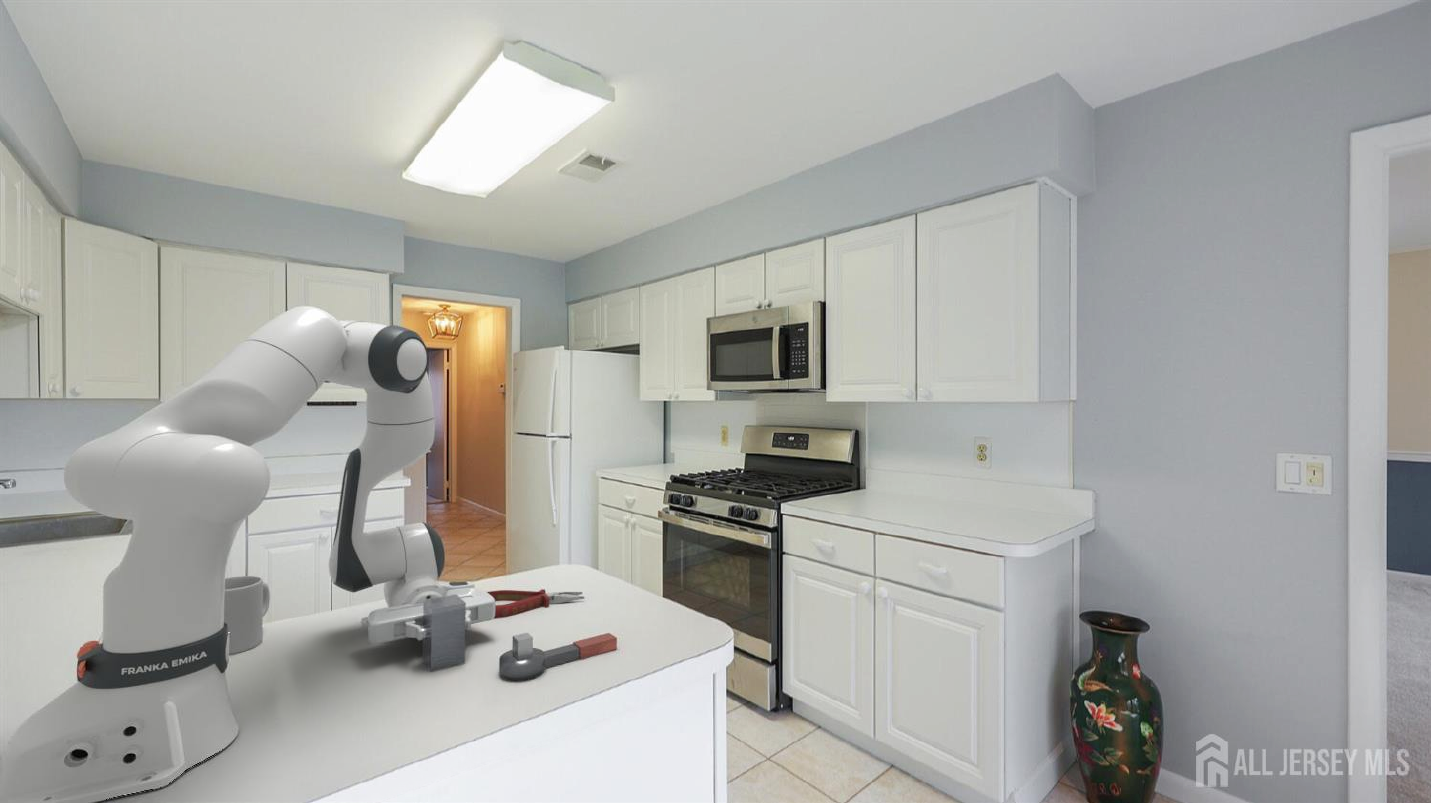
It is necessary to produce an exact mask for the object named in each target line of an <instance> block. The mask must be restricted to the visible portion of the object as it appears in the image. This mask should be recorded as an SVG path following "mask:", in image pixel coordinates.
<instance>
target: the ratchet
mask: <svg viewBox="0 0 1431 803" xmlns="http://www.w3.org/2000/svg"><path fill="white" fill-rule="evenodd" d="M533 645H534V637H533V636H532V635H531V634H530V633H529V632H524V633H519V634H516V635H515V634H514V635H512V645H511V646H512V647H511V648H512V649H511V650H508V651H506V652H504V653H502V654H501V655H500V657H499V659H498V660H499V662H498V666H499V667H498V668H499V669H498V675H499V677H500V678H501V679H502V680H504V681H507V682H525V681H530V680H534V679H537V678H538V677H540V676H542V675H543V674H544V673H545V670H546V669H548V668H551V667H555V666H559V665H562V664H563V665H564V664H566V663H570V662H574V661H577V660H582V659H583V660H584V659H586V658H591V657H594V656H597V655H602V654H604V653H607V652H611V651H615V650H617V648H618V637H616V636H615V635H613V634H611V632H607V633H603V634H599V635H596V636H592V637H588V638H583V639H579V640H576V641H573V642H572V644H568V645H564V646H559V647H556V648H551V649H548V650H545V651H544V650H542V649H541V648H537V647H536V648H535V647H534V646H533Z"/></svg>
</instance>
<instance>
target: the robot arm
mask: <svg viewBox="0 0 1431 803" xmlns="http://www.w3.org/2000/svg"><path fill="white" fill-rule="evenodd" d="M429 356H430V355H429V351H428V348H427V346H426V344H425V342H424V340H423V338H422V337H421V335H419V333H417V332H415V331H414V330H412V329H409V328H407V327H403V326H400V325H385V324H381V323H376V322H370V321H366V320H365V321H364V320H338V319H337V318H336V317H334V316H333V315H332V314H331V313H330V312H327V311H325V310H323V309H321V308H318V307H315V306H309V305H301V306H296V307H292V308H290V309H288V310H287V311H284V312H282V313H281V314H279V315H278V316H276V317H274V318H272V319H271V320H269V321H268V322H266V323H265V324H263V325H262V326H260V327H259V328H258V329H256V330H255V331H254V332H253V333H251V334H250V335H249V336H247V337H246V338H245V339H244V340H243V341H242V342H241V343H239V344H238V345H237V346H236V347H235V348H234V349H233V350H231V352H229V353H228V354H227V355H226V356H225V357H224V358H223V359H221V360H220V361H219V362H218V363H217V364H215V365H214V366H213V367H212V368H211V369H210V370H209V371H208V372H206V373H205V374H204V375H202V376H201V377H200V378H199V379H197V381H195V382H194V383H192V384H190V385H189V386H188V387H186V388H185V389H183V390H182V391H180V392H179V393H176V394H175V395H174V396H172V397H170V398H168V399H167V400H165V401H163V402H162V403H160V404H159V405H156V406H155V407H153V408H152V409H150V410H148V411H147V412H145V413H144V414H142V415H140V416H138V417H136V418H135V419H134V420H132V421H130V422H129V423H127V424H126V425H124V426H122V427H120V428H118V429H116V430H114V431H112V432H110V433H108V434H105V435H103V436H101V437H97V438H95V439H93V440H91V441H88V442H86V443H85V444H83V445H82V446H80V447H78V449H76V450H75V452H73V454H71V456H70V458H69V459H68V461H67V463H66V465H65V468H64V473H63V481H64V485H65V488H66V490H67V492H68V493H69V495H70V496H71V497H72V498H73V500H75V501H77V502H78V503H79V504H81V505H83V506H84V507H85V508H88V509H89V510H92V511H94V512H96V513H98V514H99V515H102V516H106V517H108V518H112V519H121V520H128V521H132V532H131V536H130V538H129V542H128V545H127V548H126V551H125V554H124V556H123V558H122V560H121V562H120V563H119V565H118V566H116V567H115V568H113V570H112V571H111V572H109V574H108V575H107V577H106V578H105V580H104V582H103V586H102V588H103V589H102V590H103V591H102V592H103V594H102V595H103V596H102V597H103V598H102V599H103V600H102V602H103V603H102V606H103V607H102V609H103V610H102V643H100V641H98V640H89V641H87V642H85V643H83V644H82V646H80V648H79V650H78V651H77V653H76V658H77V665H76V680H77V681H76V683H75V684H73V685H72V686H70V687H69V688H68V689H66V690H65V691H64V692H62V693H60V695H58V696H57V697H55V698H54V699H52V700H51V701H50V702H49V703H47V704H46V705H44V706H43V707H41V708H39V710H37V711H35V712H34V713H33V714H32V715H30V716H29V717H28V718H27V719H25V720H24V722H23V723H22V724H21V725H20V726H19V727H18V728H17V730H16V731H15V732H14V733H13V735H12V737H11V738H10V740H9V741H8V744H7V746H6V747H5V750H4V752H3V753H4V754H3V755H2V759H1V763H0V803H98V802H103V801H106V799H107V800H111V798H112V799H114V798H113V797H116V798H118V797H117V796H120V795H124V794H129V793H133V792H138V791H139V793H141V792H140V791H144V790H149V789H153V790H156V789H160V787H161V788H164V787H166V786H168V785H170V784H171V783H173V782H174V781H175V780H174V779H176V778H177V777H178V776H179V777H181V776H182V775H183V774H184V773H185V772H184V771H185V770H186V769H187V768H190V767H191V766H193V765H195V764H197V763H199V762H201V761H202V760H204V759H206V758H208V757H210V756H212V755H214V754H215V753H217V752H218V753H220V752H221V751H223V750H224V749H226V748H227V747H228V746H229V745H230V744H231V743H233V741H234V740H235V739H236V737H237V736H238V734H239V729H240V728H239V725H238V723H237V721H236V718H235V714H234V713H233V709H232V705H231V701H230V695H229V691H228V690H229V689H228V683H227V682H228V681H227V676H226V674H227V673H226V670H227V668H228V664H229V662H230V661H229V660H230V655H229V633H228V626H227V624H226V623H225V622H224V595H225V578H226V574H227V566H228V560H229V557H230V553H231V549H232V546H233V543H234V541H235V539H236V536H237V534H238V532H239V529H240V528H241V526H242V523H244V521H245V519H247V518H248V517H249V516H250V515H252V514H253V513H254V512H255V511H256V510H257V509H259V507H260V506H261V505H262V503H263V502H264V500H265V498H266V497H267V494H268V491H269V489H270V485H271V472H270V468H269V465H268V463H267V461H266V458H264V456H263V455H262V454H261V453H260V452H258V450H256V449H254V448H253V447H251V446H253V445H255V444H257V443H259V442H262V441H264V440H267V439H269V438H271V437H273V436H275V435H276V434H277V433H279V432H280V431H281V430H282V429H283V428H284V427H285V426H286V425H287V424H288V423H289V422H290V421H291V420H292V419H293V418H294V417H295V415H296V414H297V413H298V412H299V411H300V410H301V409H302V407H304V406H305V404H306V403H307V402H308V401H309V400H310V399H312V397H313V396H314V395H315V393H316V392H318V391H319V389H321V387H322V386H323V385H324V383H326V384H328V383H329V384H330V383H333V384H336V385H341V386H348V387H352V388H354V389H355V388H356V389H363V390H364V391H365V394H366V404H365V405H366V408H365V409H366V411H365V412H366V431H365V434H364V436H363V439H362V440H361V443H360V444H359V446H358V447H357V448H355V449H353V450H352V451H350V453H348V457H347V459H346V461H345V465H344V466H345V467H344V470H343V476H342V477H343V478H342V484H341V488H340V494H339V496H340V498H339V502H338V512H337V520H336V526H335V533H334V538H333V542H332V547H331V551H330V555H329V559H328V571H329V576H330V578H331V581H332V583H333V584H334V585H335V586H336V587H338V588H340V589H342V590H344V591H348V592H350V593H356V592H357V593H358V592H361V591H363V590H367V589H370V588H372V587H374V586H376V585H380V584H384V585H383V596H384V599H385V602H386V605H387V607H383V608H378V609H374V610H372V611H371V612H369V614H368V615H367V617H363V618H361V619H360V625H361V626H362V627H363V628H364V629H365V628H366V629H367V638H368V642H369V643H371V644H374V645H375V644H376V645H380V644H384V643H388V642H394V641H399V640H403V639H408V638H411V639H416V640H418V642H419V641H423V639H428V637H429V635H428V633H429V629H428V627H427V626H426V625H424V626H423V601H424V600H428V599H434V598H439V597H445V596H450V595H457V596H459V597H460V598H461V599H462V600H463V601H464V602H465V603H466V615H465V631H470V630H471V628H472V627H471V626H472V625H474V624H478V623H483V622H488V621H491V620H493V619H495V618H494V617H495V605H496V601H495V599H494V598H493V597H492V596H491V595H490V594H488V593H487V592H488V591H486V590H483V589H482V588H477V587H476V586H475V583H474V582H472V581H441V580H439V579H440V577H441V575H442V573H443V572H444V568H445V562H446V560H445V559H446V558H445V557H446V556H445V554H446V553H445V547H444V543H443V541H442V538H441V536H440V534H439V533H438V532H437V531H436V529H434V528H433V527H432V526H431V525H430V524H428V523H427V522H423V521H421V522H415V523H414V522H413V523H410V524H404V525H400V526H395V527H391V528H386V529H382V530H377V531H371V532H364V529H365V528H364V527H365V520H366V514H367V507H368V506H367V505H368V500H369V496H370V494H371V492H372V490H373V489H374V488H375V487H376V486H377V485H378V484H380V483H381V482H382V481H384V480H385V479H387V478H389V477H390V476H392V475H395V474H396V473H398V472H400V471H403V470H405V469H406V468H409V467H411V466H413V465H414V464H416V463H417V462H418V461H420V460H421V459H422V458H423V457H424V456H425V455H427V453H428V452H429V451H430V450H431V447H432V446H433V444H434V441H435V433H436V432H435V431H436V426H435V424H436V423H435V422H436V420H435V407H434V406H435V405H434V398H433V392H432V386H431V382H430V379H429V374H428V368H429V361H430V358H429ZM222 749H223V750H222ZM219 751H220V752H219ZM218 753H217V754H218ZM215 755H216V754H215ZM215 755H214V756H215ZM212 757H213V756H212ZM210 758H211V757H210ZM208 759H209V758H208ZM206 760H207V759H206ZM201 763H202V762H201ZM199 764H200V763H199ZM197 765H198V764H197ZM195 766H196V765H195ZM193 767H194V766H193ZM191 768H192V767H191ZM191 768H190V769H191ZM183 772H184V773H183ZM182 773H183V774H182ZM181 774H182V775H181ZM180 775H181V776H180ZM179 777H178V778H179ZM178 778H177V779H178ZM177 779H176V780H177ZM173 780H174V781H173ZM172 781H173V782H172ZM170 782H171V783H170ZM169 783H170V784H169ZM149 791H150V790H149ZM144 792H145V791H144ZM109 798H110V799H109Z"/></svg>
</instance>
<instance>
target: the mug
mask: <svg viewBox="0 0 1431 803" xmlns="http://www.w3.org/2000/svg"><path fill="white" fill-rule="evenodd" d="M269 588H270V587H269V585H268V584H267V583H266V582H265V581H264V580H263V578H262V577H260V576H255V575H254V576H253V575H244V576H243V575H242V576H233V577H232V576H231V577H225V595H224V622H225V623H226V624H227V626H228V632H230V633H229V656H231V655H235V654H240V653H243V652H247V651H249V650H252V649H253V648H256V647H258V646H259V645H261V643H262V641H263V639H264V638H263V636H264V634H263V630H264V629H263V626H262V625H264V624H263V620H264V619H263V618H264V617H265V616H266V614H267V613H268V610H269V608H270V599H271V595H270V594H271V592H270V589H269Z"/></svg>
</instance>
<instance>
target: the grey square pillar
mask: <svg viewBox="0 0 1431 803" xmlns="http://www.w3.org/2000/svg"><path fill="white" fill-rule="evenodd" d="M465 615H466V603H465V602H464V601H463V600H462V599H461V598H460V597H459V596H457V595H450V596H445V597H439V598H434V599H428V600H424V601H423V626H424V625H426V626H427V627H428V629H429V633H428V635H429V637H428V639H423V640H422V661H423V663H424V664H425V666H426V667H427V668H428V670H429V671H430V672H435V671H440V670H443V669H447V668H450V667H451V668H452V667H455V666H459V665H463V664H465V663H466V661H465V660H466V659H465V658H466V630H465Z"/></svg>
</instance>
